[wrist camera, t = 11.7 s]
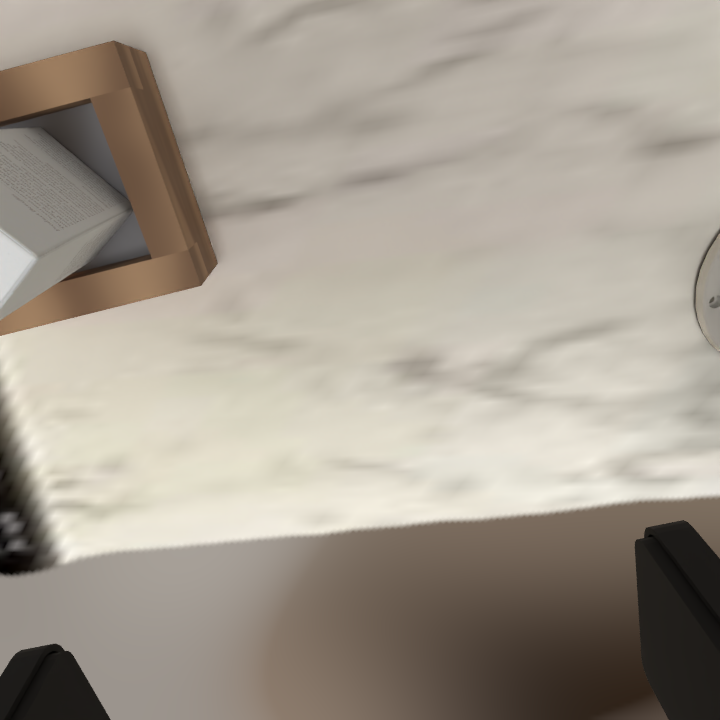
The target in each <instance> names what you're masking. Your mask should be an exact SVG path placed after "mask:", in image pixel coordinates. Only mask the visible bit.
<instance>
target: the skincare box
mask: <svg viewBox="0 0 720 720" xmlns="http://www.w3.org/2000/svg"><path fill="white" fill-rule="evenodd" d="M132 212H133V208H132V206H131V203H130V201H128V200H127V199H126V198H125V197H124V196H122V195H121V194H120V193H119V192H118V191H116V190H115V189H114V188H113V187H112V186H110V185H109V184H108V183H107V182H106V181H105V180H103V179H102V178H101V177H100V176H98V175H97V174H96V173H95V172H94V171H93V170H91V169H90V168H89V167H88V166H87V165H85V164H84V163H83V162H82V161H80V160H79V159H78V158H77V157H76V156H75V155H73V154H72V153H71V152H70V151H68V150H67V149H66V148H65V147H64V146H62V145H61V144H60V143H59V142H58V141H56V140H55V139H54V138H53V137H52V136H51V135H49V134H48V133H47V132H46V131H45V130H44V129H42V128H41V127H34V128H13V129H0V320H1V319H3V318H4V317H6V316H7V315H9V314H11V313H12V312H14V311H15V310H17V309H18V308H20V307H21V306H23V305H24V304H26V303H27V302H29V301H30V300H32V299H33V298H35V297H37V296H38V295H39V294H41V293H43V292H44V291H46V290H47V289H49V288H50V287H52V286H53V285H55V284H57V283H58V282H60V281H61V280H63V279H64V278H66V277H67V276H69V275H70V274H72V273H73V272H75V271H76V270H78V269H80V268H81V267H83V266H84V265H86V264H87V263H89V262H90V261H92V260H93V259H94V258H95V257H96V256H97V254H98V253H99V252H100V250H101V249H102V248H103V247H104V246H105V244H106V243H107V242H108V241H109V240H110V238H111V237H112V236H113V235H114V234H115V232H116V231H117V230H118V229H119V228H120V226H121V225H122V224H123V223H124V221H125V220H126V219H127V218H128V216H129V215H130V214H131V213H132Z"/></svg>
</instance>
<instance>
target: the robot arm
mask: <svg viewBox="0 0 720 720" xmlns="http://www.w3.org/2000/svg"><path fill="white" fill-rule="evenodd" d="M695 305H696V311H697V317H698V322H699V324H700V326H701V329H702V331H703V334H704V335H705V337H706V338H707V339H708V341H709V342H710V343H711V345H712V346H713V347H714V348H715V349H717V350H718V351H719V352H720V234H719V235H718V237H717V238H716V240H715V241H714V243H713V245H712V246H711V248H710V249H709V251H708V253H707V255H706V258H705V260H704V262H703V265H702V267H701V270H700V273H699V278H698V282H697V286H696V304H695ZM635 556H636V572H637V590H638V606H639V623H640V638H641V639H640V640H641V656H642V663H643V667H644V671H645V673H646V676H647V679H648V681H649V683H650V685H651V687H652V689H653V691H654V693H655V695H656V697H657V699H658V700H659V702H660V704H661V706H662V708H663V709H664V712H665V713H666V715H667V717H668V719H669V720H720V559H719V557H718V556H717V555H716V554H715V553H714V552H713V550H712V549H711V548H710V547H709V546H708V545H707V543H706V542H705V541H704V540H703V539H702V537H701V536H700V535H699V534H698V533H697V532H696V530H695V529H694V528H693V527H692V526H691V525H690V524H689V523H688V522H686V521H684V520H683V521H677V522H672V523H667V524H662V525H658V526H652V527H648V528H646V529H645V534H644V538H643V539H637V540H636V542H635ZM0 720H110V718H109V716H108V714H107V713H106V711H105V709H104V708H103V706H102V704H101V702H100V701H99V699H98V697H97V696H96V694H95V692H94V691H93V689H92V687H91V685H90V684H89V682H88V680H87V678H86V677H85V675H84V673H83V672H82V670H81V668H80V666H79V665H78V663H77V661H76V659H75V658H74V656H73V655H72V654H71V652H69V651H64V649H63V648H62V647H61V646H60V645H58V644H50V645H45V646H40V647H35V648H30V649H25V650H21V651H19V652H18V653H16V654H15V655H14V656H13V658H12V659H11V660H10V662H9V664H8V665H7V667H6V668H5V670H4V672H3V673H2V675H1V676H0Z"/></svg>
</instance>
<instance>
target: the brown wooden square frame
mask: <svg viewBox="0 0 720 720" xmlns="http://www.w3.org/2000/svg"><path fill="white" fill-rule="evenodd" d="M34 127H41V128H42V129H44V130H45V131H46V132H47V133H48V134H49V135H51V136H52V137H53V138H54V139H55V140H56V141H58V142H59V143H60V144H61V145H62V146H64V147H65V148H66V149H67V150H68V151H70V152H71V153H72V154H73V155H75V156H76V157H77V158H78V159H79V160H80V161H82V162H83V163H84V164H85V165H87V166H88V167H89V168H90V169H91V170H93V171H94V172H95V173H96V174H97V175H98V176H100V177H101V178H102V179H103V180H105V181H106V182H107V183H108V184H109V185H110V186H112V187H113V188H114V189H115V190H116V191H118V192H119V193H120V194H121V195H122V196H124V197H125V198H126V199H127V200H128V201H130V203H131V206H132V208H133V212H132V213H131V214H130V215H129V216H128V218H127V219H126V220H125V221H124V223H123V224H122V225H121V226H120V228H119V229H118V230H117V231H116V232H115V234H114V235H113V236H112V237H111V238H110V240H109V241H108V242H107V243H106V244H105V246H104V247H103V248H102V249H101V250H100V252H99V253H98V254H97V256H96V257H95V258H94V259H93V260H92V261H90V262H89V263H87V264H86V265H84V266H83V267H81V268H80V269H78V270H76V271H75V272H73V273H72V274H70V275H69V276H67V277H66V278H64V279H63V280H61V281H60V282H58V283H57V284H55V285H53V286H52V287H50V288H49V289H47V290H46V291H44V292H43V293H41V294H39V295H38V296H37V297H35V298H33V299H32V300H30V301H29V302H27V303H26V304H24V305H23V306H21V307H20V308H18V309H17V310H15V311H14V312H12V313H11V314H9V315H7V316H6V317H4V318H3V319H1V320H0V336H2V335H6V334H10V333H14V332H18V331H22V330H26V329H30V328H34V327H38V326H42V325H46V324H50V323H54V322H58V321H62V320H66V319H70V318H74V317H78V316H82V315H86V314H90V313H94V312H98V311H102V310H106V309H110V308H114V307H118V306H122V305H126V304H130V303H134V302H138V301H142V300H146V299H150V298H154V297H158V296H162V295H166V294H170V293H174V292H178V291H182V290H186V289H190V288H194V287H198V286H201V285H202V284H203V282H204V281H205V280H206V278H207V277H208V276H209V274H210V273H211V272H212V270H213V269H214V268H215V266H216V265H217V264H218V263H217V260H216V257H215V254H214V252H213V249H212V246H211V243H210V240H209V237H208V234H207V231H206V228H205V225H204V222H203V219H202V216H201V213H200V210H199V207H198V205H197V202H196V199H195V196H194V193H193V190H192V187H191V184H190V181H189V178H188V175H187V172H186V169H185V166H184V163H183V161H182V158H181V155H180V152H179V149H178V146H177V143H176V140H175V137H174V134H173V131H172V128H171V125H170V122H169V119H168V116H167V114H166V111H165V108H164V105H163V102H162V99H161V96H160V93H159V90H158V87H157V84H156V81H155V78H154V75H153V72H152V69H151V67H150V64H149V61H148V58H147V55H146V53H145V52H143V51H140V50H137V49H135V48H132V47H129V46H126V45H124V44H121V43H118V42H116V41H111V42H107V43H103V44H99V45H96V46H92V47H88V48H85V49H81V50H77V51H73V52H70V53H66V54H62V55H59V56H55V57H51V58H47V59H44V60H40V61H36V62H33V63H29V64H25V65H21V66H18V67H14V68H10V69H7V70H3V71H0V129H13V128H34Z"/></svg>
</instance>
